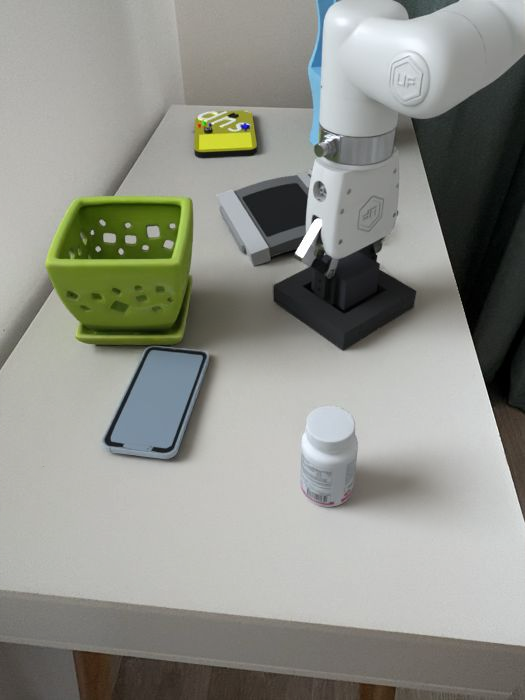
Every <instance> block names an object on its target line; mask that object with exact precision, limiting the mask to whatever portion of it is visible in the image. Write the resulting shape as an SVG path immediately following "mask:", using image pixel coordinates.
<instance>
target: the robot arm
mask: <svg viewBox="0 0 525 700" xmlns="http://www.w3.org/2000/svg"><path fill="white" fill-rule="evenodd" d="M409 17H410V16H409V14H408V11H407V9H406V7H404V5H402V4H401V3H400V2H398V1H396V0H341V1H338V2H336V3H334V4H333V5H332V6H331V7H330V8H329V9H328V11H327V13H326V15H325V18H324V25H323V43H322V68H321V93H320V117H319V143H317V144H316V145H315V146H313V152H314V154H315V156H316V157H315V158H314V162H313V167H312V169H313V170H312V175H311V180H310V186H309V193H308V201H307V212H306V236H305V237H304V239H303V241H302V242H301V244H300V246H299V248H298V249H296V251H295V252H294V258H295V259H296V260H297V261H299V262H301V263H302V264H303V265H305V266H307V267H312V268H313V269H315V282H314V293H315V294H316V295H317V296H318V297H320V298H321V299H323V300H324V301H326V302H327V303H329V304H330V305H333V304H335V303H336V301H337V290H338V275H337V274H335V271H336V268H337V265H338V261H339V259H340V258H343V257H346V256H348V255H350V254H352V253H354V252H356V251H358V252H360V253H362V254H364V255H365V256H367V257H369V258H371V259H373V260H374V261H376V262H378V254H379V253H380V252H381V251H382V249H383V240H384V239H385V237H386V236H388V235H389V234H391V233H392V231H394V229H395V226H396V223H397V217H398V216H399V210H398V208H399V195H400V159H399V152H398V148H397V147H396V146H395V142H396V136H397V135H396V134H397V128H398V127H397V126H398V119H399V114H401V115H403V116H405V117H409V118H412V119H418V120H427V119H434V118H436V117H438V116H441V115H443V114H445V113H447V112H448V111H450V110H451V109H453V108H454V107H456V106H458V105H459V104H461V103H462V102H464V101H465V100H467V99H468V98H470V97H471V96H472V95H474V94H476V93H477V92H479V91H481V90H482V89H484V88H486V87H487V86H489V85H490V84H492V83H493V82H495V81H496V80H497V79H499V78H500V77H501V76H502V75H504V74H505V73H506V72H507V71H508V70H509V69H510V68H512V66H514V65H515V64H516V63H517V62H518V61H519V60H520V59H521V58H522V57H523V56H524V55H525V0H458V1H457V2H454V3H452V4H448V5H447V6H444V7H442V8H441V9H438V10H435V11H434V12H431V13H429V14H425V15H422V16H417V17H413V18H409ZM326 254H327V255H329V259H328V262H327V264H326V263H325V262H323V261H322V260H323V256H324V255H326Z"/></svg>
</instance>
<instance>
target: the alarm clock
mask: <svg viewBox="0 0 525 700" xmlns="http://www.w3.org/2000/svg"><path fill="white" fill-rule="evenodd" d="M312 170H313V168H309V170H308V173H307V172H301V173H300V172H299V173H296V174H295V175H287V176H286V175H285V176H281V177H275V178H271V179H267V180H262V181H260V182H256V183H253V184H250V185H247V186H245V187H241V188H239V189H236V190H234V189H233V188H230V189H228V190H225V191H222V192H220V193H217V194H216V199H217V202H218V206H219V207H218V209H219V212H220V215H221V217H222V219H223V221H224V222H225V224H226V226H227V228H228V230H229V232H230V233H231V235H232V237H233V239H234V240H235V242H236V244H237V245H238V247H239V250H240V251H241V253H242V254H246V256H247V257H248V259H249V261H250V263H251V265H252V267H256V266H258V265H259V266H260V265H263V264H264V263H268V262H270V261H271V258H272V257H275V256H277V255H278V256H279V255H281V254H284V253H287V252H291V251H295V250H297V249H298V248H299V246H300V244H301V242H302V241H303V239H304V237H305V236H306V212H307V201H308V193H309V186H310V180H311V175H312Z"/></svg>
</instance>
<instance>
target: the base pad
mask: <svg viewBox="0 0 525 700" xmlns="http://www.w3.org/2000/svg"><path fill="white" fill-rule="evenodd" d="M311 286H312V267H310V266H307V267H306V268H305V269H302V270H300V271H298V272H296V273H295V274H292V275H291V276H288V277H286V278H284V279H282V280H280V281H279V282H277V283H275V284H273V285H272V301H273V303H275V304H276V305H277V306H278V307H281V308H282V309H283V310H284V311H286V312H288V313H289V314H290V315H292V316H293V317H295V318H296V319H297V320H299V321H300V322H302V324H304V325H306V326H307V327H308V328H310V329H311V330H313V331H314V332H316V333H317V334H318V335H320V336H321V337H323V338H324V339H326V340H327V341H328V342H330V343H331V344H333V345H334V346H335V347H337V348H338V349H339V350H341V351H345V350H347V349H348V348H350V347H352V346H353V345H355V344H357V343H358V342H360V341H361V340H363V339H365V338H366V337H368V336H370V335H371V334H373V333H375V332H376V331H378V330H380V329H381V328H383V327H384V326H386V325H387V324H389V323H391V322H392V321H394V320H396V319H397V318H399V317H401V316H402V315H404V314H405V313H407V312H409V311H410V310H412V309H414V308H415V302H416V297H417V291H418V290H416V289H414V288H413V287H411V286H410V285H408V284H406V283H404V282H403V281H401V280H399V279H397V278H396V277H394V276H392V275H390V274H389V273H387V272H385V271H383V270H382V269H381V268H379V276H378V285H377V292H375V293H373V294H372V295H370V296H368V297H366V298H365V299H363V300H361V301H359V302H358V303H356V304H354V305H352V306H351V307H349V308H347V309H345V310H343V309H341V308H340V307H338V306H336V305H335V304H333V305H330V304H329V303H327V302H326V301H324V300H323V299H321V298H320V297H318V296H317V295H316V294H315V293H314V291H313V290H312V289H311Z"/></svg>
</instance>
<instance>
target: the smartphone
mask: <svg viewBox="0 0 525 700" xmlns="http://www.w3.org/2000/svg"><path fill="white" fill-rule="evenodd" d="M209 363H210V355H209V353H208V352H207V351H205V350H202V349H200V350H199V349H191V348H181V347H171V346H163V345H149V346H148V347H146V348H145V349H144V351H143V352H142V355H141V357H140V359H139V360H138V363H137V365H136V367H135V369H134V371H133V374H132V375H131V378H130V380H129V382H128V384H127V386H126V388H125V390H124V392H123V393H122V396H121V398H120V401H119V403H118V405H117V407H116V410H114V413H113V415H112V418H111V420H110V421H109V424H108V426H107V428H106V430H105V431H104V434H103V436H102V438H101V444H102V447H103V449H104V450H105V451H106V452H108V453H113V454H121V455H123V454H124V455H130V456H137V457H145V458H152V459H153V458H154V459H159V460H160V459H161V460H168V459H171V458H173V457H175V456H176V455H177V454H178V451H179V449H180V446H181V444H182V440H183V437H184V434H185V431H186V429H187V427H188V426H187V425H188V423H189V420H190V417H191V414H192V412H193V408H194V407H195V403H196V400H197V398H198V394H199V392H200V389H201V386H202V383H203V380H204V377H205V374H206V371H207V368H208V366H209Z"/></svg>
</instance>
